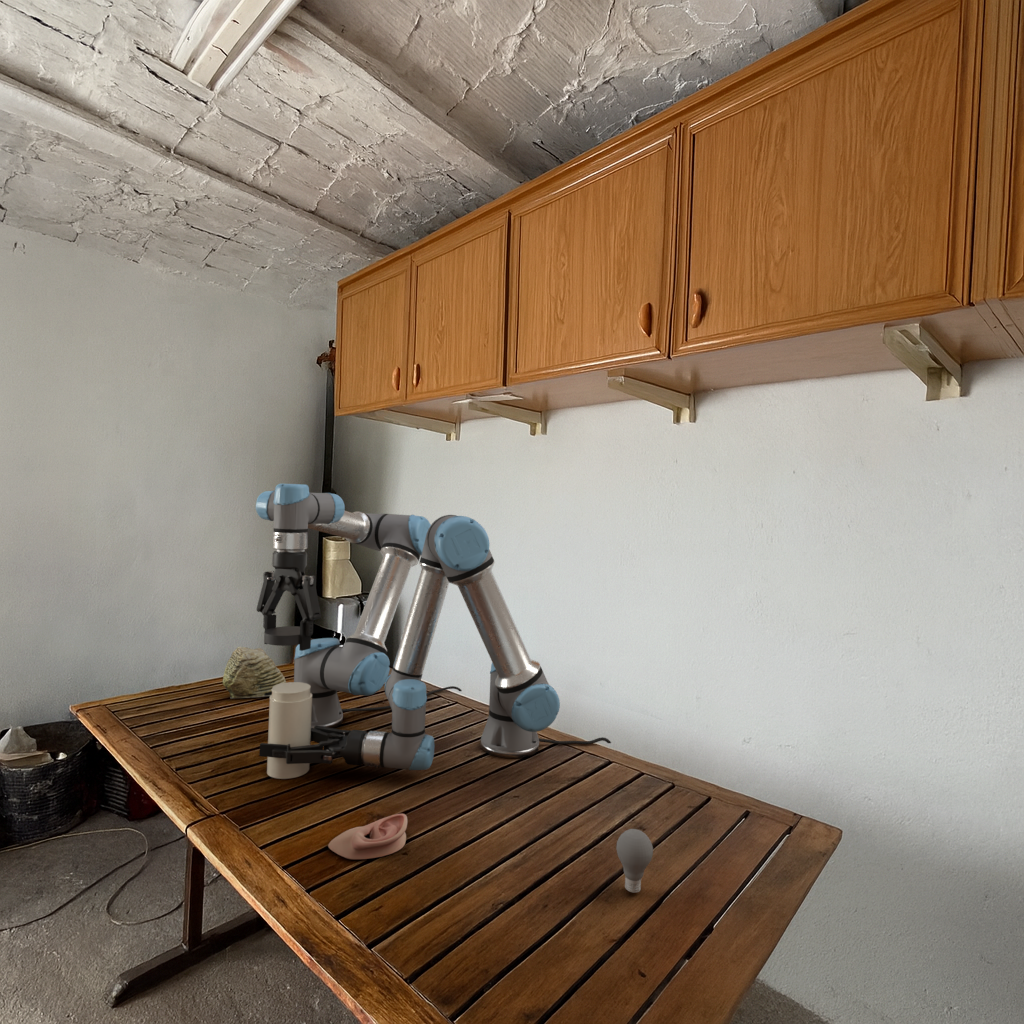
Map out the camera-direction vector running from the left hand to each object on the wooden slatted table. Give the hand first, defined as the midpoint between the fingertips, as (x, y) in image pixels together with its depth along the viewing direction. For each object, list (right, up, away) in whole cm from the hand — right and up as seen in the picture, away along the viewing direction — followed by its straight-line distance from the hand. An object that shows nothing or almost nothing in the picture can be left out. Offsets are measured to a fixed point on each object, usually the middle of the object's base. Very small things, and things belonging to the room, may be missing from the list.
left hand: (287, 646), depth 147 cm
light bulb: (+72, -32, -41) cm, 89 cm away
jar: (+1, -28, -1) cm, 28 cm away
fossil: (-29, -26, +51) cm, 64 cm away
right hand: (-4, -22, -1) cm, 22 cm away
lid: (0, +3, 0) cm, 3 cm away
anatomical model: (+26, -30, -30) cm, 50 cm away
